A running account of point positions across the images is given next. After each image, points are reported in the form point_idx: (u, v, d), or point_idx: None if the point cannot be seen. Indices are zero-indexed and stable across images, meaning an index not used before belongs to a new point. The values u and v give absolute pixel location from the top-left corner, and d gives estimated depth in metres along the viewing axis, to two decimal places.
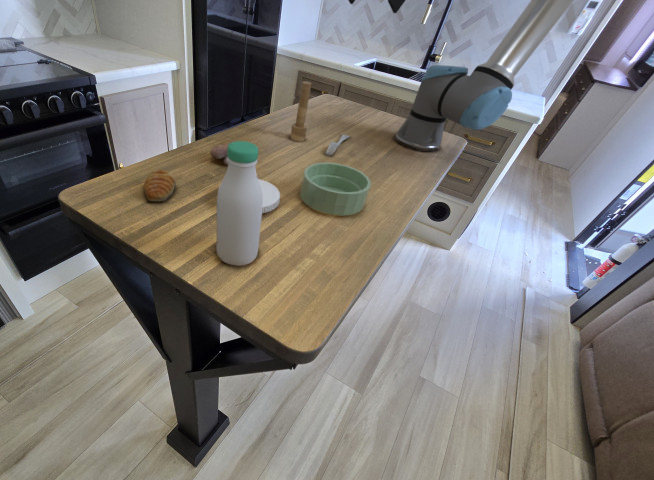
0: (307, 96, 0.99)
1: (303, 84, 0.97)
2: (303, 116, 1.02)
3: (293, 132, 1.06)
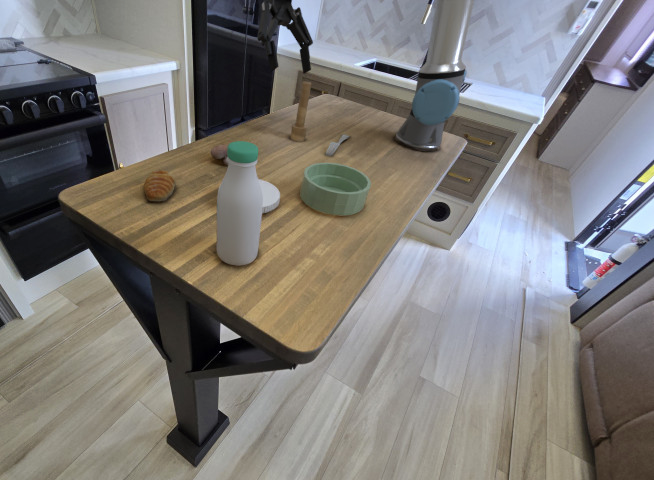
0: (307, 96, 0.99)
1: (303, 84, 0.97)
2: (303, 116, 1.02)
3: (293, 132, 1.06)
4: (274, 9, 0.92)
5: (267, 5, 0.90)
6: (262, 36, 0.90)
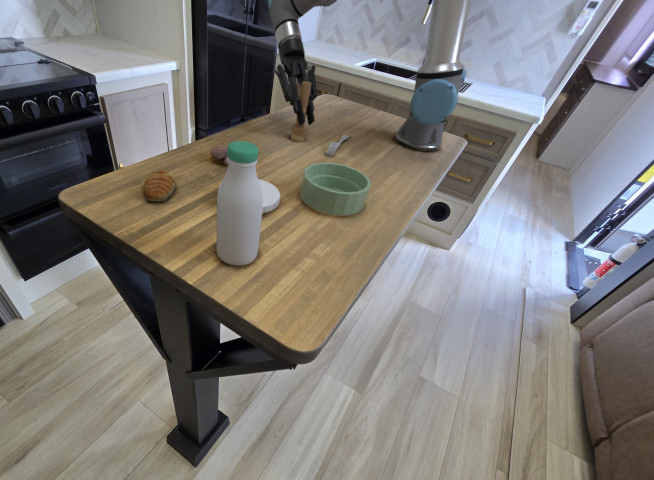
0: (307, 96, 0.99)
1: (303, 84, 0.97)
2: None
3: (293, 132, 1.06)
4: (285, 65, 0.99)
5: (281, 69, 0.98)
6: (289, 97, 0.99)
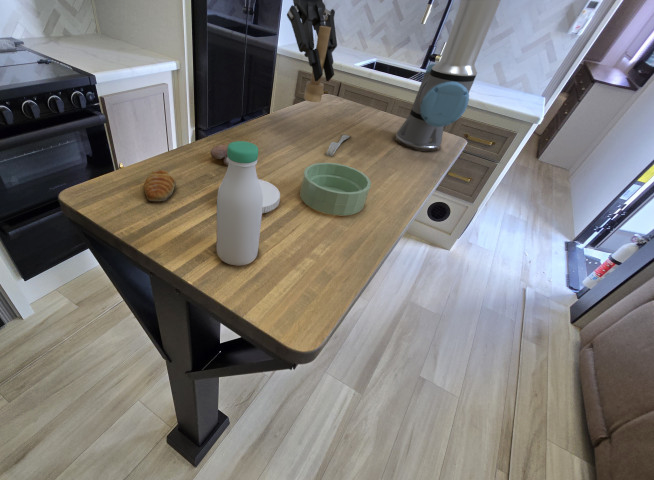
0: (325, 44, 0.83)
1: (321, 28, 0.81)
2: None
3: (307, 91, 0.89)
4: (299, 7, 0.82)
5: (294, 11, 0.82)
6: (303, 46, 0.83)
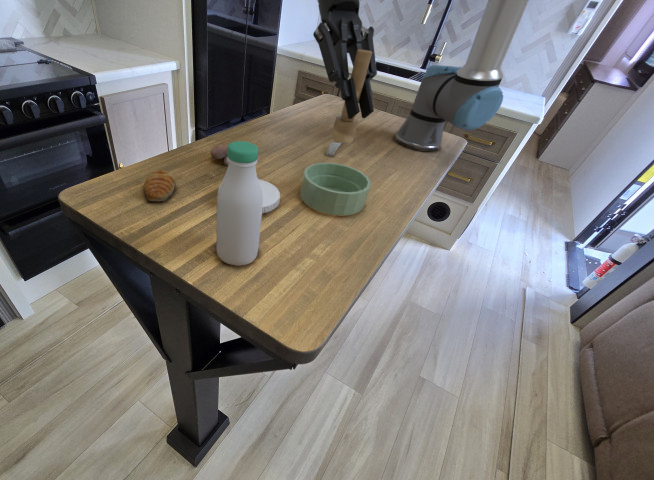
0: (364, 73, 0.63)
1: (359, 53, 0.61)
2: None
3: (337, 129, 0.70)
4: (330, 25, 0.63)
5: (324, 30, 0.62)
6: (335, 75, 0.63)
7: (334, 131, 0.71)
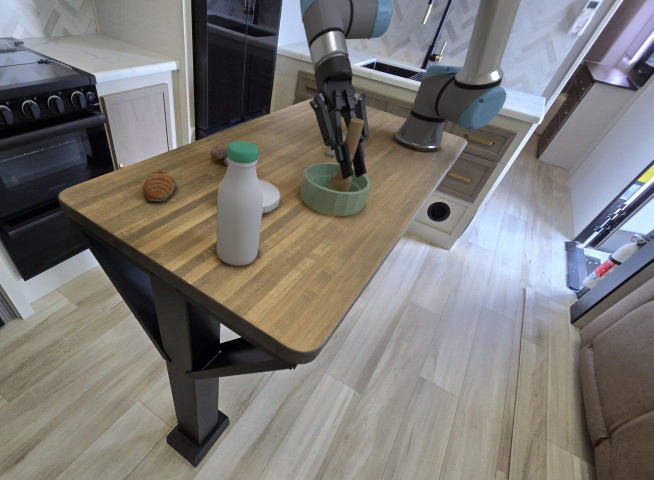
0: (357, 139, 0.68)
1: (352, 123, 0.66)
2: None
3: (333, 186, 0.75)
4: (325, 95, 0.68)
5: (319, 101, 0.67)
6: (330, 141, 0.68)
7: (330, 187, 0.76)
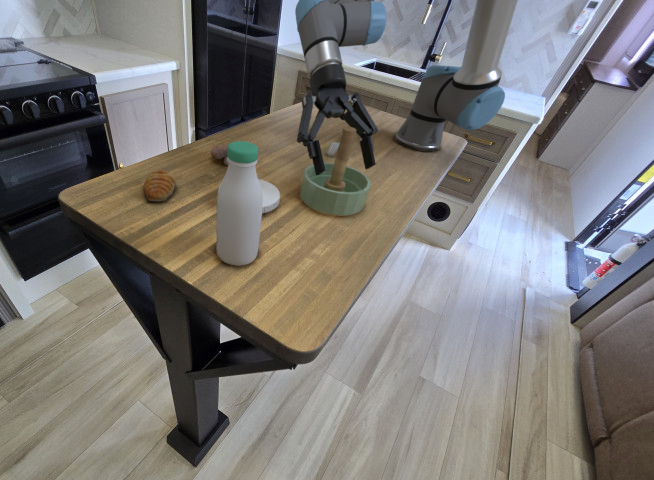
0: (349, 147, 0.71)
1: (345, 131, 0.69)
2: (342, 172, 0.75)
3: None
4: (320, 102, 0.70)
5: (309, 99, 0.69)
6: (302, 137, 0.69)
7: None
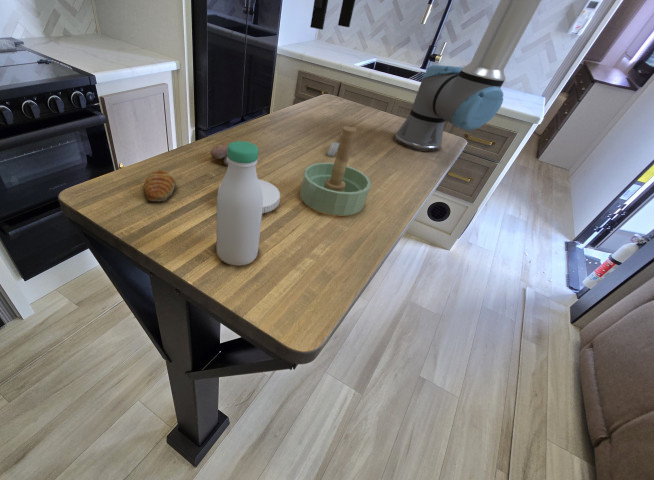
0: (349, 147, 0.71)
1: (345, 131, 0.69)
2: (342, 172, 0.75)
3: None
4: None
5: None
6: None
7: None
